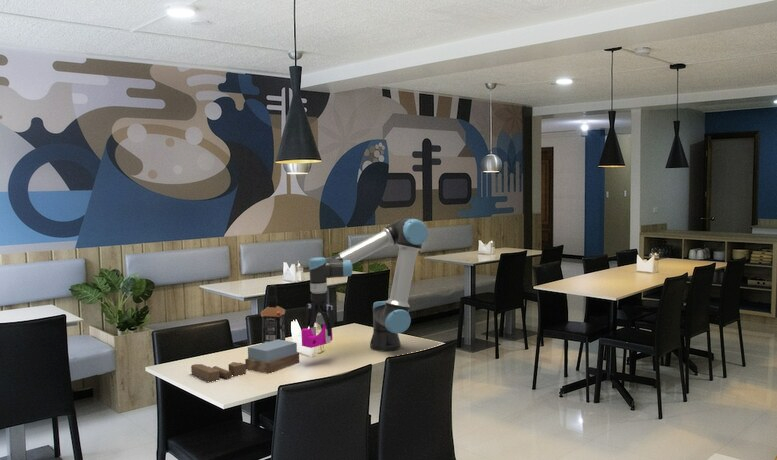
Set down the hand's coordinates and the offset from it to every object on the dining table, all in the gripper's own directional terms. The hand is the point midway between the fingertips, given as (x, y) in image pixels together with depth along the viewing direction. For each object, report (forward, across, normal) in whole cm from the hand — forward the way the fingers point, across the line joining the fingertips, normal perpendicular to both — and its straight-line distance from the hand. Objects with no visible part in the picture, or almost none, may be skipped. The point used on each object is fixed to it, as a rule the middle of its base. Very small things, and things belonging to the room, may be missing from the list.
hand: (321, 341), depth 292 cm
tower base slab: (+9, -16, -15) cm, 24 cm away
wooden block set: (+9, -29, -35) cm, 47 cm away
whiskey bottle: (+9, -33, +8) cm, 35 cm away
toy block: (+1, 0, -1) cm, 1 cm away
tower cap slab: (+4, -16, -15) cm, 22 cm away
